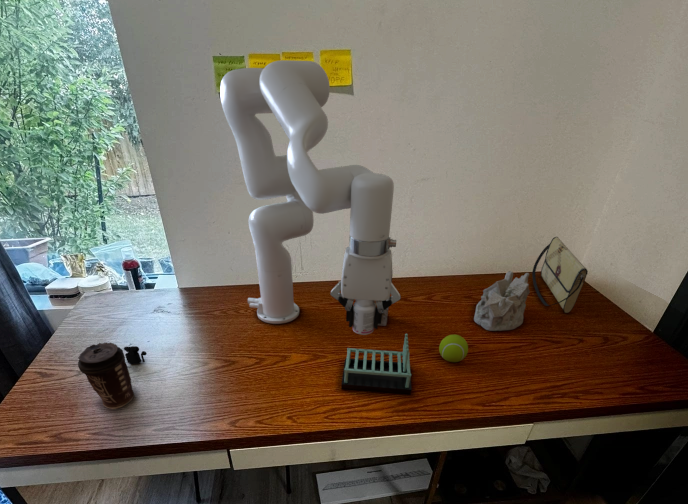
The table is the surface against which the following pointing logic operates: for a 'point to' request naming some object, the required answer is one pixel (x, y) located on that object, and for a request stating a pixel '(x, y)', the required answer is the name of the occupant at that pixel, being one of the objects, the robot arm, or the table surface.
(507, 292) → the grey rock sculpture
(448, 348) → the tennis ball
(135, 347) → the wireless earbuds
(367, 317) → the pill bottle
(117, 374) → the coffee cup
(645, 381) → the table surface
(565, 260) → the cream handbag
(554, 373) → the table surface
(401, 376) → the wire rack
